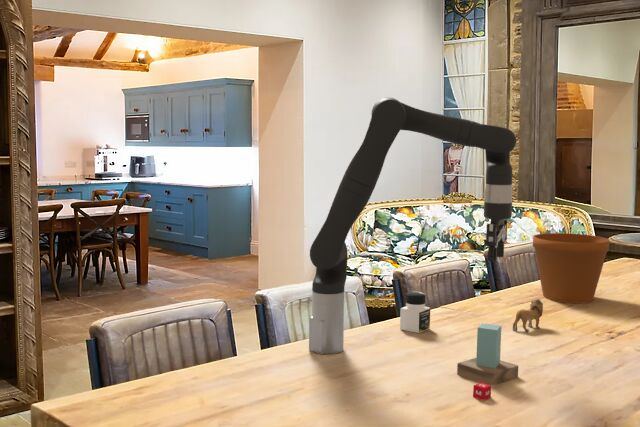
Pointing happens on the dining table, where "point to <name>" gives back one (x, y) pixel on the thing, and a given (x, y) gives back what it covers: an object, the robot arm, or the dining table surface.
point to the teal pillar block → (488, 345)
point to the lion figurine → (529, 315)
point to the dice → (482, 391)
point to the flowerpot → (569, 265)
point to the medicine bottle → (415, 313)
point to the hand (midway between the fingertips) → (495, 258)
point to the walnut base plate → (487, 372)
